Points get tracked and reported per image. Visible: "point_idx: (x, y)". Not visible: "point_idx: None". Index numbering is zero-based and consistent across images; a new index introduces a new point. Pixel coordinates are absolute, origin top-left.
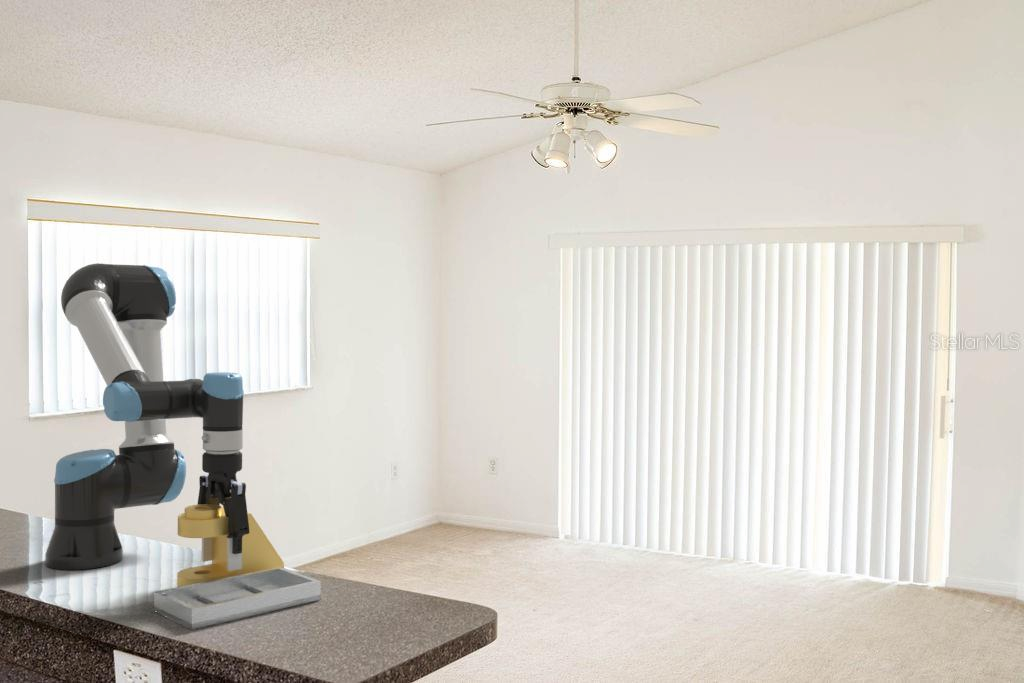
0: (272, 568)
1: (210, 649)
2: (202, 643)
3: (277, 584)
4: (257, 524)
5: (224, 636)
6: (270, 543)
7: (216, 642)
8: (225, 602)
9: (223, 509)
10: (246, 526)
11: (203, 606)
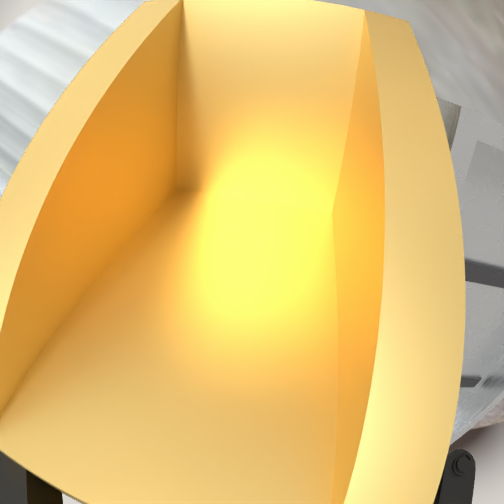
0: (452, 152)
1: (497, 423)
2: (481, 423)
3: (475, 163)
4: (454, 400)
5: (498, 404)
6: (444, 133)
7: (496, 415)
8: (483, 415)
9: (43, 480)
10: (462, 498)
11: (457, 438)
